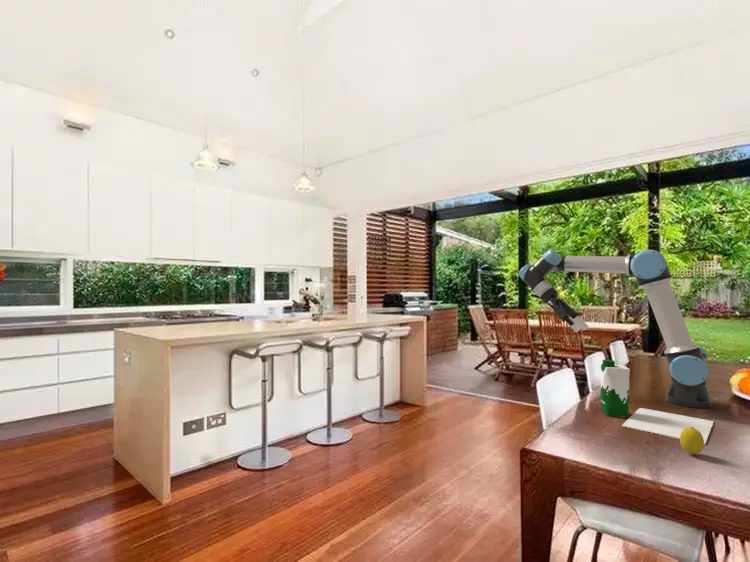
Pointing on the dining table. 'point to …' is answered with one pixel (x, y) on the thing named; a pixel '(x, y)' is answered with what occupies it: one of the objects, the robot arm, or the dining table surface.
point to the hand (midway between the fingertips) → (582, 329)
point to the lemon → (691, 440)
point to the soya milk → (614, 389)
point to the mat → (667, 423)
